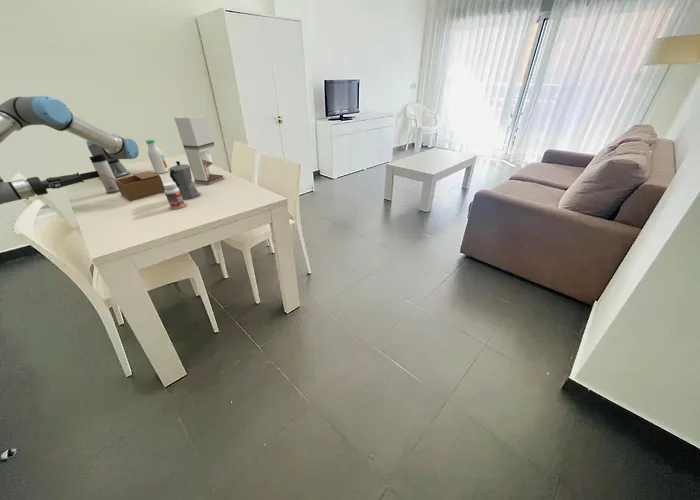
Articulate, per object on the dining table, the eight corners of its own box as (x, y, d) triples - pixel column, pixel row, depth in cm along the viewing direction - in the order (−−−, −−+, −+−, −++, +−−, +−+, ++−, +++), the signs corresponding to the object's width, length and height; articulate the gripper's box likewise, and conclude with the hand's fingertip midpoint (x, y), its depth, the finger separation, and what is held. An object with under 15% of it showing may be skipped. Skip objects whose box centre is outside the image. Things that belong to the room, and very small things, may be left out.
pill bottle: (183, 208, 133) (174, 185, 127) (169, 209, 132) (159, 186, 126) (186, 203, 138) (178, 181, 132) (172, 204, 137) (164, 182, 131)
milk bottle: (164, 173, 182) (152, 141, 171) (152, 174, 182) (139, 141, 172) (171, 170, 189) (159, 138, 178) (159, 170, 189) (147, 139, 178)
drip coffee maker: (209, 184, 161) (189, 117, 143) (195, 182, 165) (174, 117, 146) (223, 178, 170) (206, 115, 152) (210, 176, 174) (191, 114, 155)
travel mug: (114, 193, 152) (95, 156, 142) (104, 193, 153) (85, 155, 143) (124, 189, 157) (107, 153, 147) (114, 189, 159) (96, 152, 148)
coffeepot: (187, 191, 152) (175, 158, 142) (204, 191, 152) (193, 157, 142) (171, 203, 139) (157, 166, 129) (190, 202, 139) (177, 166, 129)
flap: (122, 183, 137) (122, 184, 137) (113, 178, 145) (113, 178, 145) (102, 173, 131) (102, 174, 130) (94, 168, 138) (94, 169, 138)
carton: (130, 201, 142) (122, 183, 137) (121, 195, 150) (113, 178, 145) (166, 191, 153) (159, 174, 148) (156, 186, 161) (149, 170, 156)
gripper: (34, 192, 125) (98, 178, 140) (38, 199, 118) (106, 184, 133) (23, 176, 121) (90, 163, 136) (27, 181, 114) (98, 168, 129)
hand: (98, 173), depth 135 cm, fingers closed
